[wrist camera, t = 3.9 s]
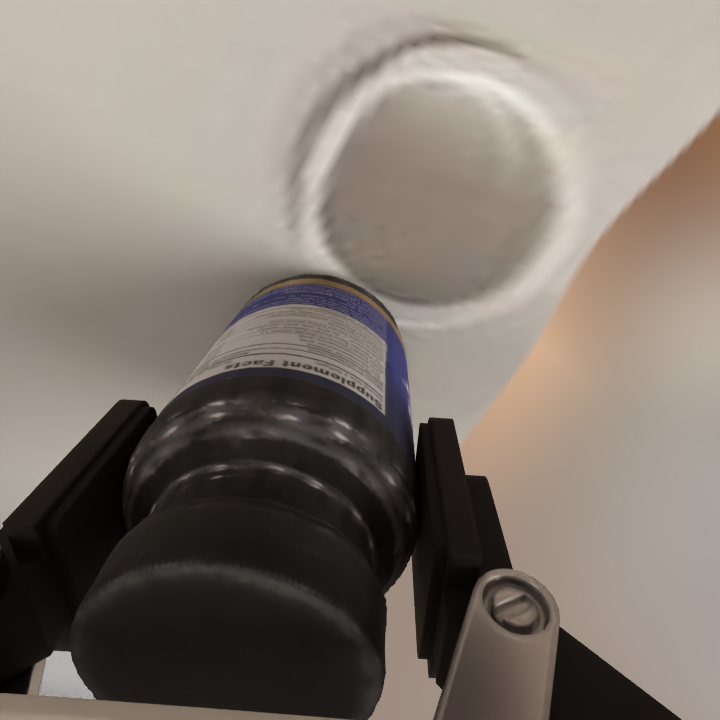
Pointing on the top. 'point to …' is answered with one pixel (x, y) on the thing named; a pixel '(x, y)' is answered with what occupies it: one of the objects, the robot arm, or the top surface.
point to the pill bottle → (265, 518)
